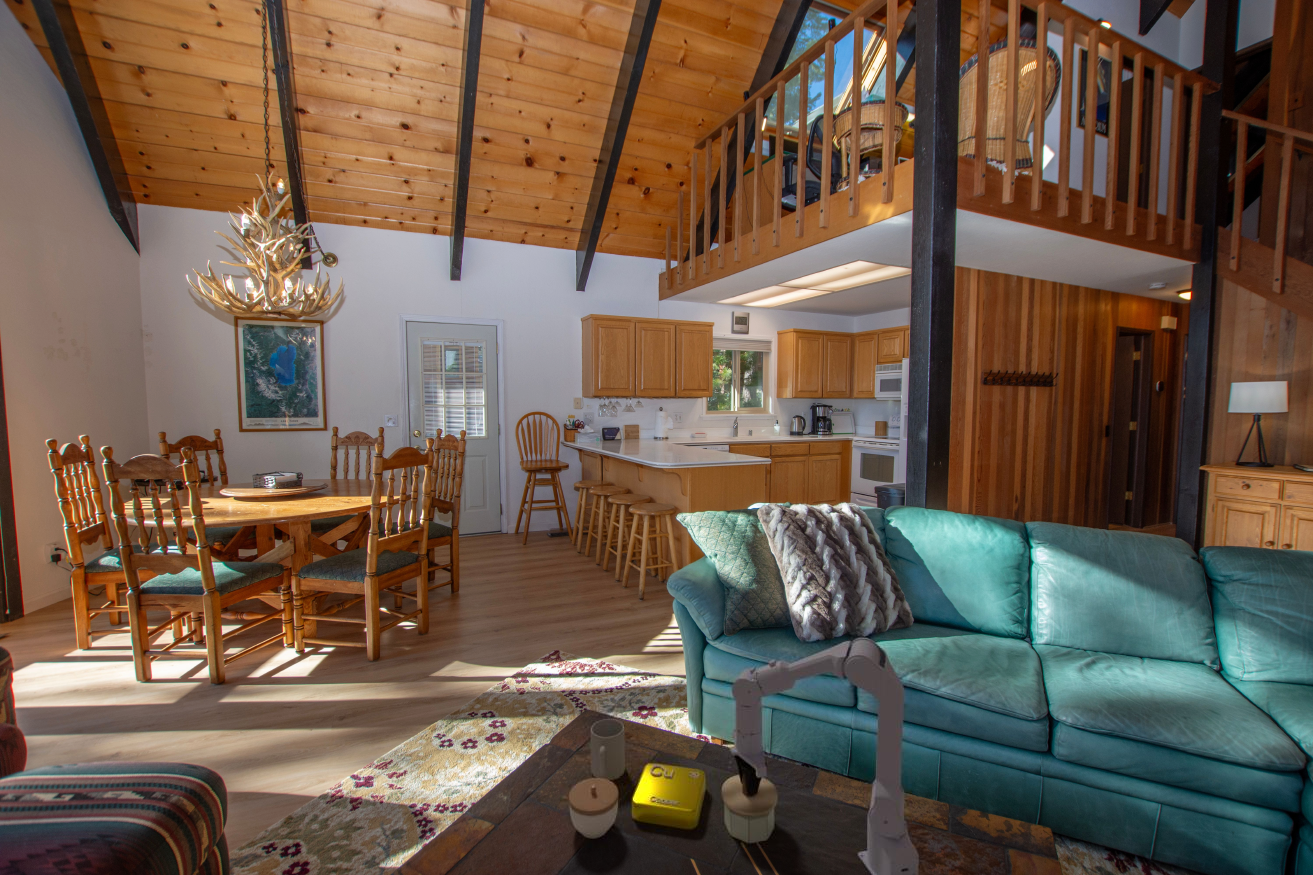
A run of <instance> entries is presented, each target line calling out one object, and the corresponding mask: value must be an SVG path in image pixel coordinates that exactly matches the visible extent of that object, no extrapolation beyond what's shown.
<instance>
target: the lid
mask: <svg viewBox="0 0 1313 875" xmlns="http://www.w3.org/2000/svg"><path fill="white" fill-rule="evenodd" d="M721 787H722V788H721V798H722V800H723V803H725V804H726V805H727V806H728V807H729V808H730V809H732V810H733V811H735V812H737V813H740V814H743V815H749V816H757V815H763V814H766V813H768V812H770V811H771V810H772V809H773V808H774V809H775V807H776V806H777V804H778V789H777V788H776V786H775V785H774V784H773V783H772V782H771V781H770V780H768V779H767V778H764V777H762V779H761V781H760V785H759V789H758V792H757V794H756V795H750V796H749V795H748V794H747V791H746V786H745V779H744V774H743V775H742V783H741V781H740V777H739V774H737V775H733V776H730V777H729V778H727V780H725V781H724V783H722V786H721Z"/></svg>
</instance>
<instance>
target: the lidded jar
mask: <svg viewBox="0 0 1313 875" xmlns="http://www.w3.org/2000/svg"><path fill="white" fill-rule="evenodd" d="M568 804H569V813H570V818H571V823H572V824H573V826H574V827H575V829H576V830H577V831H578V832H579V833H580V834H581V835H582V836H583V837H585V838H588V839H598V838H601V837H603V836H604V835H606V833H607V832H608V831H609V830H610V828H611V827H612V826H613V824H614V823H615V821H616V818H617V814H618V808H619V788H618V786H617V785H616V784H615V783H614V782H613V781H612V780H611V781H609V780H607V779H603V778H595V777H591V778H586V779H584V780H581V781H578V782H577V784H575V785H573V787H572V788H571V789H570V791H569V794H568Z"/></svg>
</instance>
